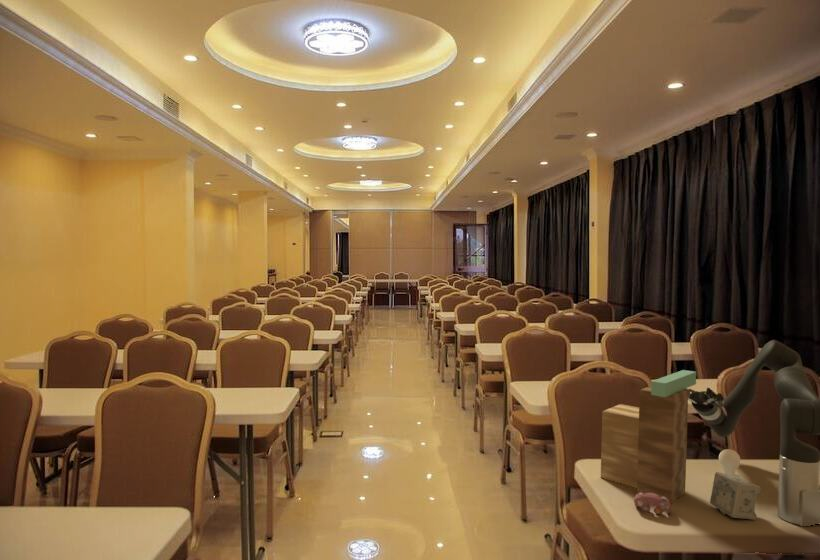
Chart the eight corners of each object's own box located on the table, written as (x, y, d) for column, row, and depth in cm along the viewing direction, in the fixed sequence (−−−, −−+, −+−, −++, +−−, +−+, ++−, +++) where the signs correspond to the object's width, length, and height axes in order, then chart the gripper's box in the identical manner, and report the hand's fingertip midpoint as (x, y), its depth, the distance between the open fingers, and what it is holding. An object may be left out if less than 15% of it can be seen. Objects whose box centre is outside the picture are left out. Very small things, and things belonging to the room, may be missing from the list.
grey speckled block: (760, 520, 160) (761, 483, 160) (733, 522, 159) (734, 484, 159) (734, 505, 170) (736, 470, 170) (709, 507, 169) (710, 471, 168)
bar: (682, 382, 188) (683, 369, 188) (695, 384, 186) (696, 371, 185) (651, 394, 170) (651, 381, 169) (665, 397, 167) (665, 383, 167)
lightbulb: (734, 480, 190) (735, 446, 189) (743, 487, 184) (744, 453, 183) (714, 479, 190) (715, 446, 190) (722, 486, 184) (724, 452, 184)
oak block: (619, 467, 200) (620, 403, 200) (654, 476, 192) (656, 410, 191) (600, 477, 190) (602, 411, 189) (637, 488, 182) (638, 418, 181)
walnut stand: (652, 483, 186) (655, 384, 185) (685, 492, 179) (688, 389, 178) (636, 494, 177) (639, 389, 176) (670, 504, 170) (673, 395, 169)
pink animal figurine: (633, 514, 166) (632, 497, 163) (635, 502, 170) (634, 485, 167) (671, 522, 162) (671, 504, 159) (672, 509, 165) (672, 491, 162)
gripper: (687, 392, 207) (673, 374, 196) (731, 399, 197) (719, 381, 186) (682, 412, 204) (668, 395, 194) (727, 420, 194) (715, 403, 184)
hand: (693, 388), depth 190 cm, fingers open, 8 cm apart
